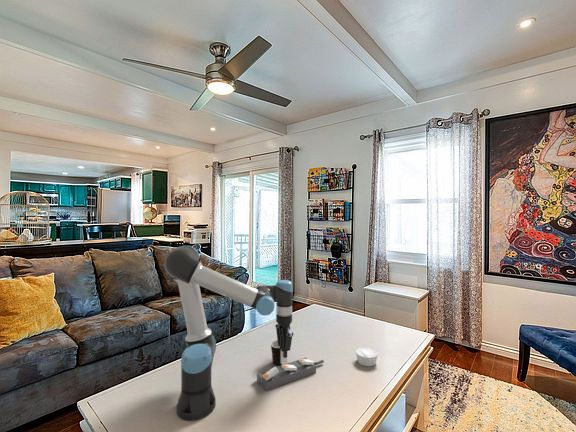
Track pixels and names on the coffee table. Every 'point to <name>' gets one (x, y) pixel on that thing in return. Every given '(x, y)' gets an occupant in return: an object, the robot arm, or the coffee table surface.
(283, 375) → the power strip
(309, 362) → the block
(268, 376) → the block
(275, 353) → the coffee mug
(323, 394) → the coffee table surface
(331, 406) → the coffee table surface
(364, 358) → the ramekin
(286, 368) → the rocker
